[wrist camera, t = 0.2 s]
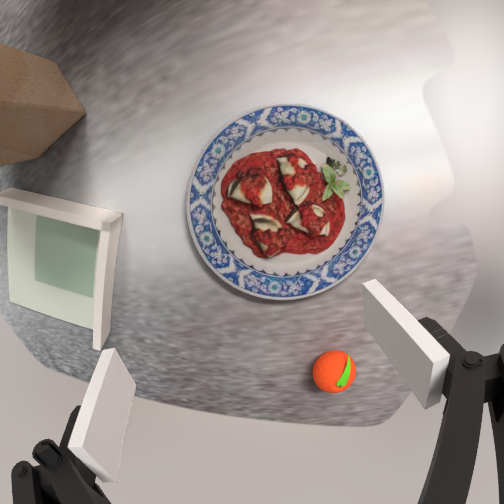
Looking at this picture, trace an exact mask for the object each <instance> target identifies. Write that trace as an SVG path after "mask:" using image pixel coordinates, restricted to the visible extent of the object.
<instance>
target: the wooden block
mask: <svg viewBox="0 0 504 504" xmlns="http://www.w3.org/2000/svg"><path fill="white" fill-rule="evenodd" d="M85 113H86V112H85V109H84V108H83V106H82V105H81V103H80V101H79V100H78V98H77V96H76V95H75V93H74V91H73V90H72V88H71V86H70V85H69V83H68V81H67V80H66V78H65V76H64V74H63V73H62V71H61V69H60V68H59V66H58V64H57V63H56V62H53V61H51V60H48V59H45V58H42V57H39V56H37V55H34V54H31V53H28V52H25V51H22V50H19V49H16V48H13V47H9V46H6V45H3V44H0V166H3V165H7V164H12V163H17V162H21V161H26V160H32V159H37V158H39V157H40V156H41V155H42V154H43V153H44V152H45V151H46V150H47V149H48V148H49V147H50V146H51V145H52V144H53V143H54V142H55V141H56V140H57V139H58V138H59V137H60V136H61V135H62V134H64V133H65V132H66V131H67V130H68V129H69V128H70V127H71V126H72V125H73V124H75V123H76V122H77V121H78V120H79V119H80V118H81V117H83V116H84V115H85Z"/></svg>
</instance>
